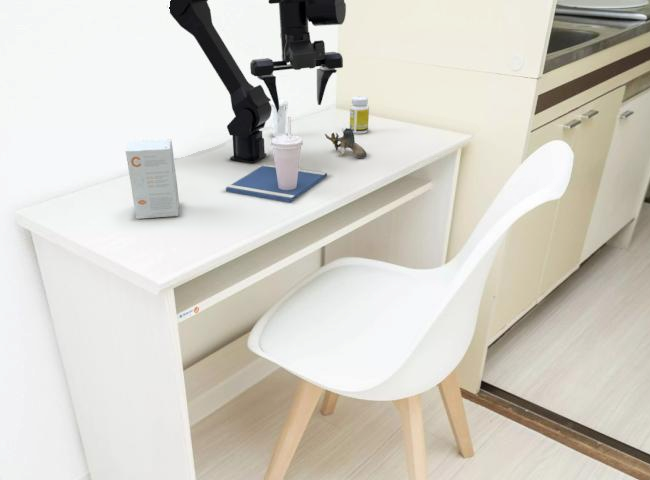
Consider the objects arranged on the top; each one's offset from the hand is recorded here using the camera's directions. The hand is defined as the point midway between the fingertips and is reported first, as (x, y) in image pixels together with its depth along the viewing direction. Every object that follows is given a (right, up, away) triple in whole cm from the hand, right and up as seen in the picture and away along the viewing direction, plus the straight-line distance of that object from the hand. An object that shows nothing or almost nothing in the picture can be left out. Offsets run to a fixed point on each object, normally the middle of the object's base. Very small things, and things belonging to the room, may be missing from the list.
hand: (298, 107), depth 139 cm
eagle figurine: (+12, -7, +13) cm, 19 cm away
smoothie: (-3, -19, -7) cm, 20 cm away
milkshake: (-4, +2, +27) cm, 28 cm away
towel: (-5, -17, -3) cm, 18 cm away
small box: (-28, -25, -14) cm, 40 cm away
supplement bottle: (+17, +4, +29) cm, 34 cm away
